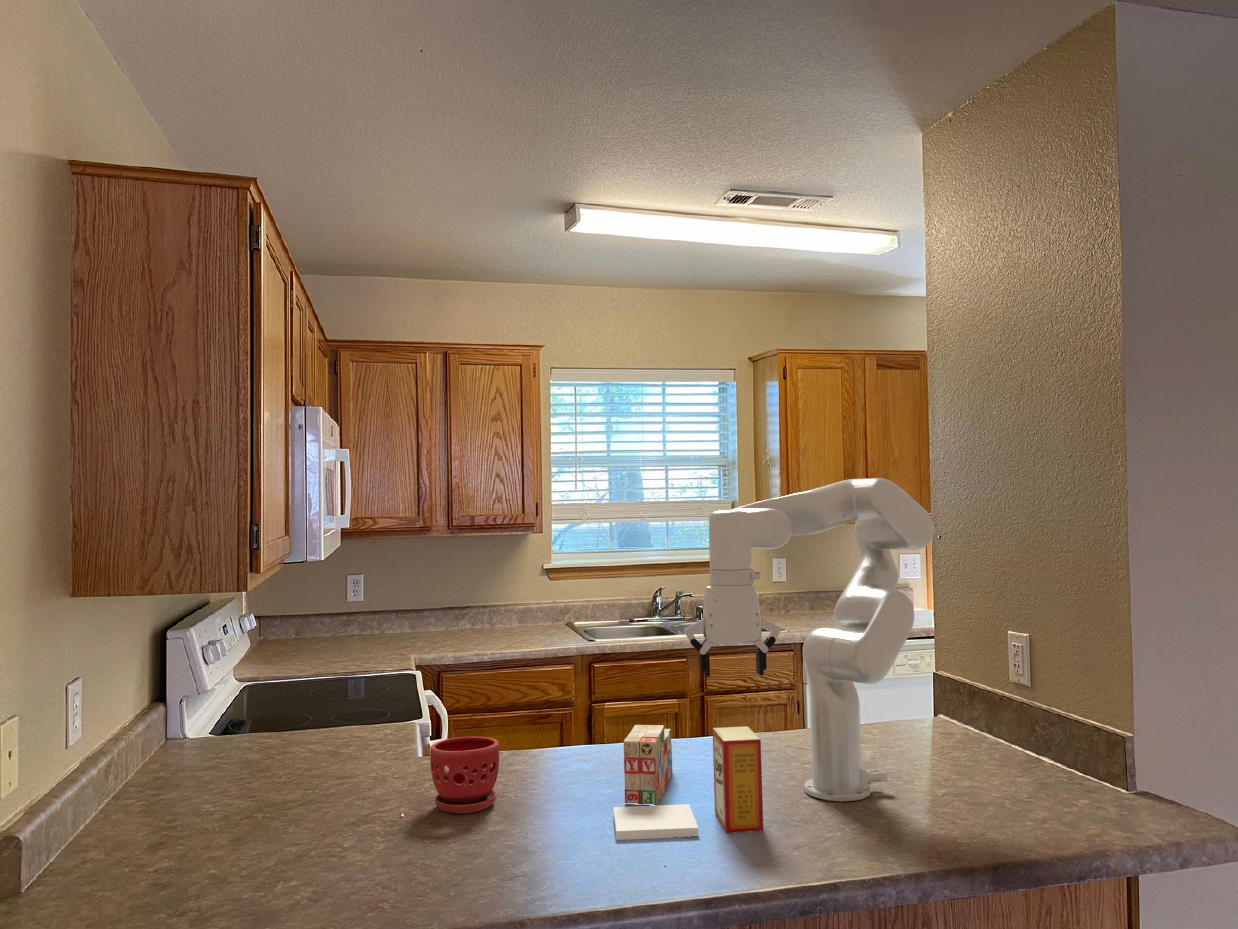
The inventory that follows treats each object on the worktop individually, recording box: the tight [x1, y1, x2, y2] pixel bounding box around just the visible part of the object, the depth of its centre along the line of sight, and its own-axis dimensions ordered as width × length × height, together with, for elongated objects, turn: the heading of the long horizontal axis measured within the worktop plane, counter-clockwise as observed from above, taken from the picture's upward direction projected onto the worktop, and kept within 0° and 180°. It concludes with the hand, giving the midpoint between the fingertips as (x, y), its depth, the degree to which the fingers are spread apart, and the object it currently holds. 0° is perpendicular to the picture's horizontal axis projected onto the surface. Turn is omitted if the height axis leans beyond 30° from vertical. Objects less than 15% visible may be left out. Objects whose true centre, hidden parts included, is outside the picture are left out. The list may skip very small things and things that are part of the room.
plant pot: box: [429, 736, 500, 814], centre depth 172 cm, size 13×13×12 cm
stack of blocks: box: [623, 724, 673, 805], centre depth 180 cm, size 21×6×12 cm, turn 169°
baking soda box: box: [712, 725, 764, 834], centre depth 160 cm, size 10×6×16 cm
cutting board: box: [612, 803, 699, 841], centre depth 159 cm, size 14×12×2 cm
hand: (733, 675), depth 161 cm, fingers open, 9 cm apart
